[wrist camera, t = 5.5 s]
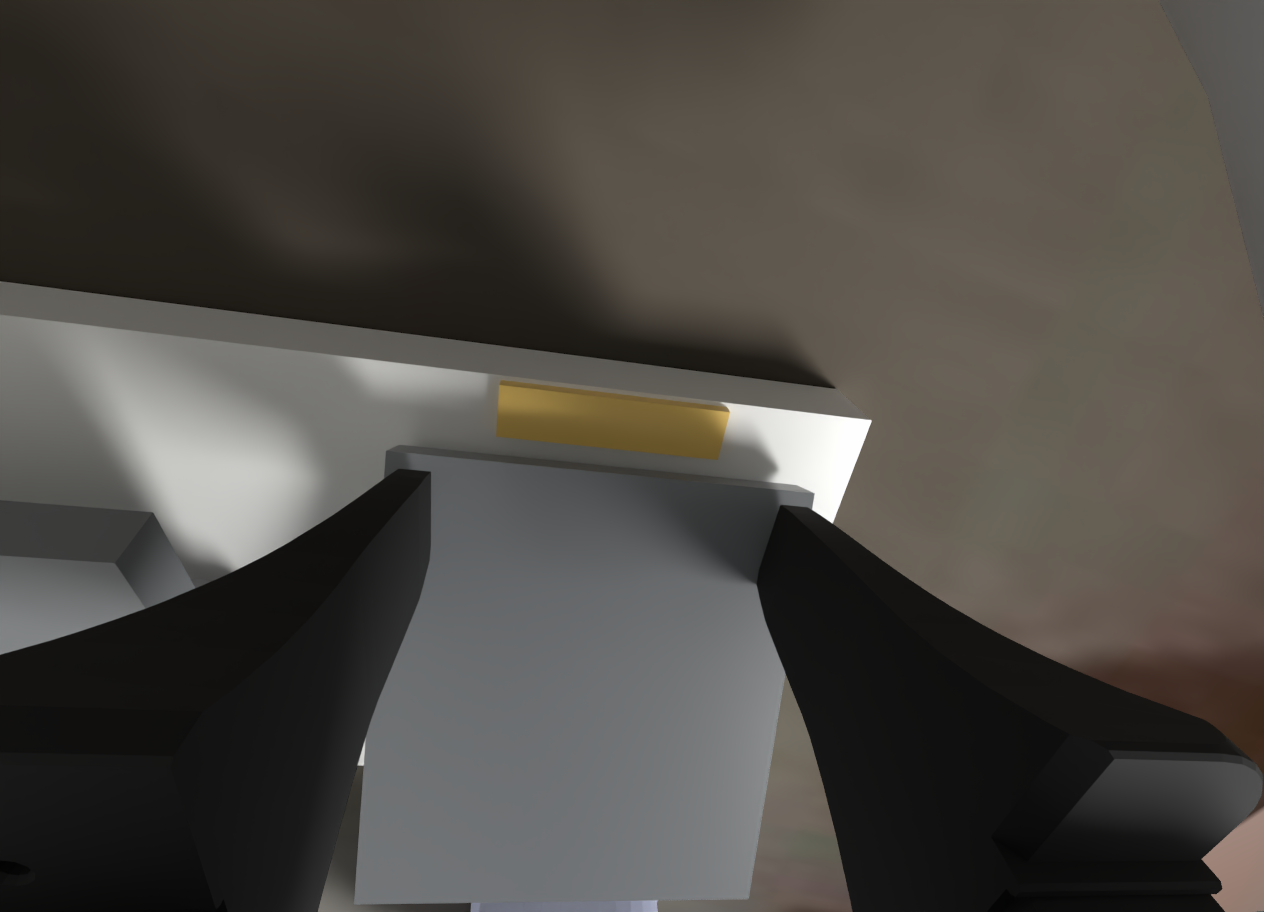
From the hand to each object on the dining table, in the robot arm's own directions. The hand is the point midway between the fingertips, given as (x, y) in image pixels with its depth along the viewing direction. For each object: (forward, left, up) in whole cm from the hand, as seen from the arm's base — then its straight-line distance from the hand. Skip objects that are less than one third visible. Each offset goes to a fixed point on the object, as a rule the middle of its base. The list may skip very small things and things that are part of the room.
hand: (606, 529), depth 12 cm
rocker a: (-4, 0, 0) cm, 4 cm away
